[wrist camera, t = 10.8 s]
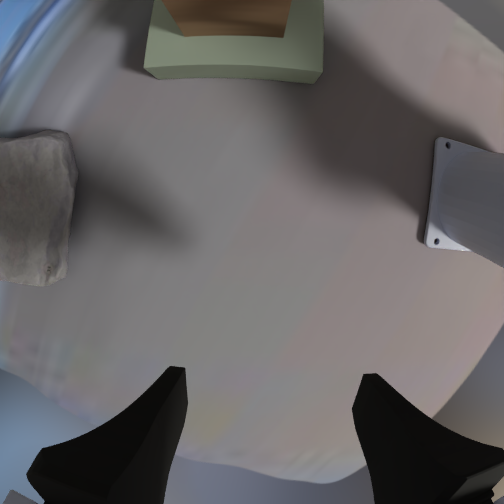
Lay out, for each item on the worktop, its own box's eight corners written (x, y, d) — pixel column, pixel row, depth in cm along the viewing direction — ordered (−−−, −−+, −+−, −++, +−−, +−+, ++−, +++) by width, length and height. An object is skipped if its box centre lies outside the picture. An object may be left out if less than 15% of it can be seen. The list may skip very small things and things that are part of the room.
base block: (315, -31, 15) (321, -53, 12) (313, 84, 18) (322, 72, 15) (176, -34, 15) (167, -54, 12) (158, 79, 18) (143, 68, 15)
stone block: (90, 125, 20) (-7, 139, 18) (68, 121, 16) (-38, 142, 14) (96, 270, 24) (5, 269, 22) (79, 296, 20) (-21, 291, 18)
